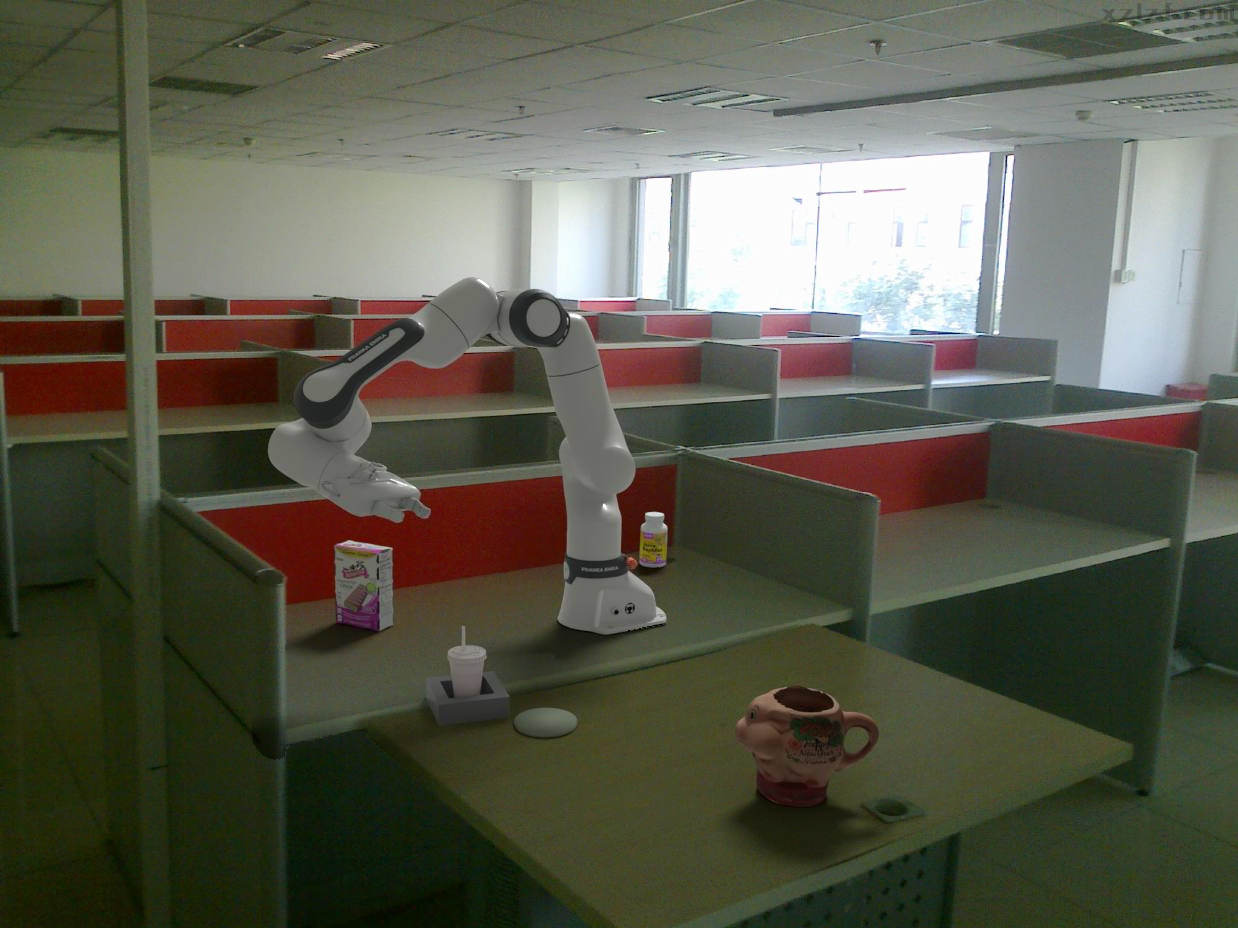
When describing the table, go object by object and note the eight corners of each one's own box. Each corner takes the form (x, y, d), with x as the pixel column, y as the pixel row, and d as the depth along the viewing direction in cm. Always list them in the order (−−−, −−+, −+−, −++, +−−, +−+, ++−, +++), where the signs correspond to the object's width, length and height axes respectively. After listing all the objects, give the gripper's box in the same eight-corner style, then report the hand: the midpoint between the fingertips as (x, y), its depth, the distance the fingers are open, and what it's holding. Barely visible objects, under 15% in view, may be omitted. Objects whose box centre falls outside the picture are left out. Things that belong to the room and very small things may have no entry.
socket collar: (492, 690, 183) (493, 670, 182) (509, 716, 172) (509, 696, 172) (425, 697, 179) (425, 678, 178) (438, 725, 168) (438, 704, 168)
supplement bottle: (637, 567, 261) (638, 516, 258) (641, 560, 267) (642, 510, 265) (664, 569, 260) (666, 517, 257) (667, 562, 266) (669, 511, 264)
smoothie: (448, 699, 179) (448, 619, 176) (487, 699, 179) (487, 619, 177) (445, 715, 172) (445, 632, 170) (485, 715, 173) (486, 632, 170)
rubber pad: (566, 707, 176) (566, 704, 176) (585, 732, 167) (585, 729, 167) (507, 715, 173) (507, 711, 173) (523, 740, 164) (523, 737, 164)
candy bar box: (334, 623, 214) (332, 544, 211) (350, 616, 219) (348, 539, 216) (379, 632, 210) (378, 552, 207) (394, 625, 214) (393, 546, 211)
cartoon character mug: (859, 770, 157) (866, 681, 154) (885, 812, 145) (893, 716, 143) (725, 771, 156) (729, 681, 153) (740, 813, 144) (745, 716, 141)
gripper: (322, 466, 173) (391, 503, 170) (385, 463, 193) (448, 496, 189) (308, 501, 174) (377, 538, 171) (372, 494, 194) (434, 528, 190)
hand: (415, 516), depth 180 cm, fingers open, 8 cm apart
